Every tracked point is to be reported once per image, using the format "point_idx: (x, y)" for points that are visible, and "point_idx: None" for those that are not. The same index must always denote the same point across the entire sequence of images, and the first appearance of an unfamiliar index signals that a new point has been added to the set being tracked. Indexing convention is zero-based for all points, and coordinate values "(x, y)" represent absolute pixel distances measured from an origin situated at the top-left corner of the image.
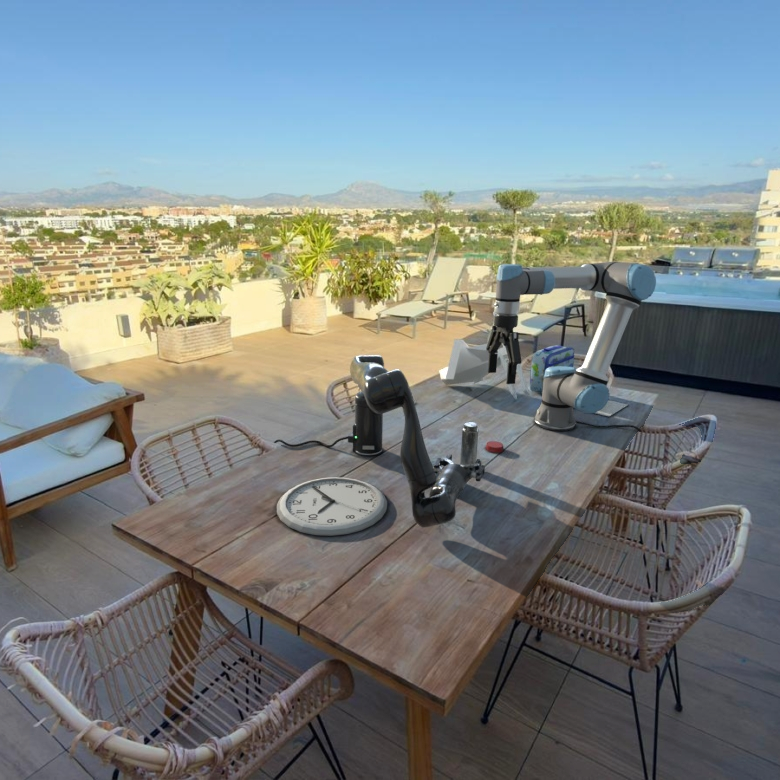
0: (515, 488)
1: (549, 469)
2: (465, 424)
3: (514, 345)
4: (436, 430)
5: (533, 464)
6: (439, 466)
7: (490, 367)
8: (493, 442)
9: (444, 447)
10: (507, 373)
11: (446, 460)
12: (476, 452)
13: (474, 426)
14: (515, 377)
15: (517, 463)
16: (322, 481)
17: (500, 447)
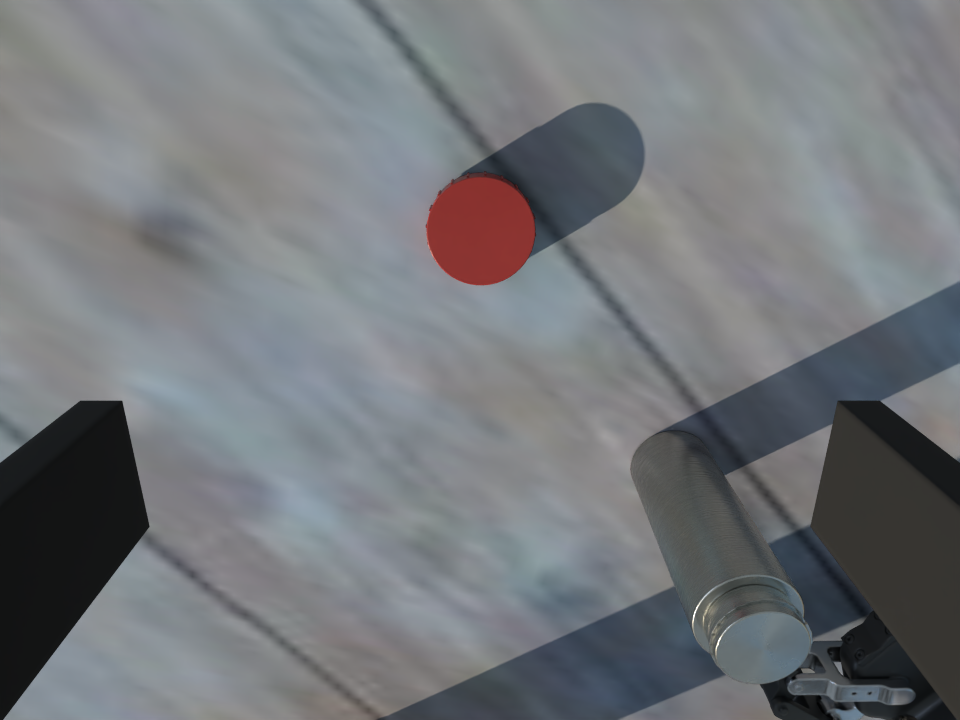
0: (953, 337)
1: (857, 13)
2: (749, 678)
3: None
4: (138, 445)
5: (756, 82)
6: (838, 717)
7: (90, 573)
8: (451, 228)
9: (393, 483)
10: (929, 665)
11: (835, 700)
12: (735, 495)
13: (809, 641)
14: (952, 461)
15: (707, 179)
16: None
17: (532, 215)
